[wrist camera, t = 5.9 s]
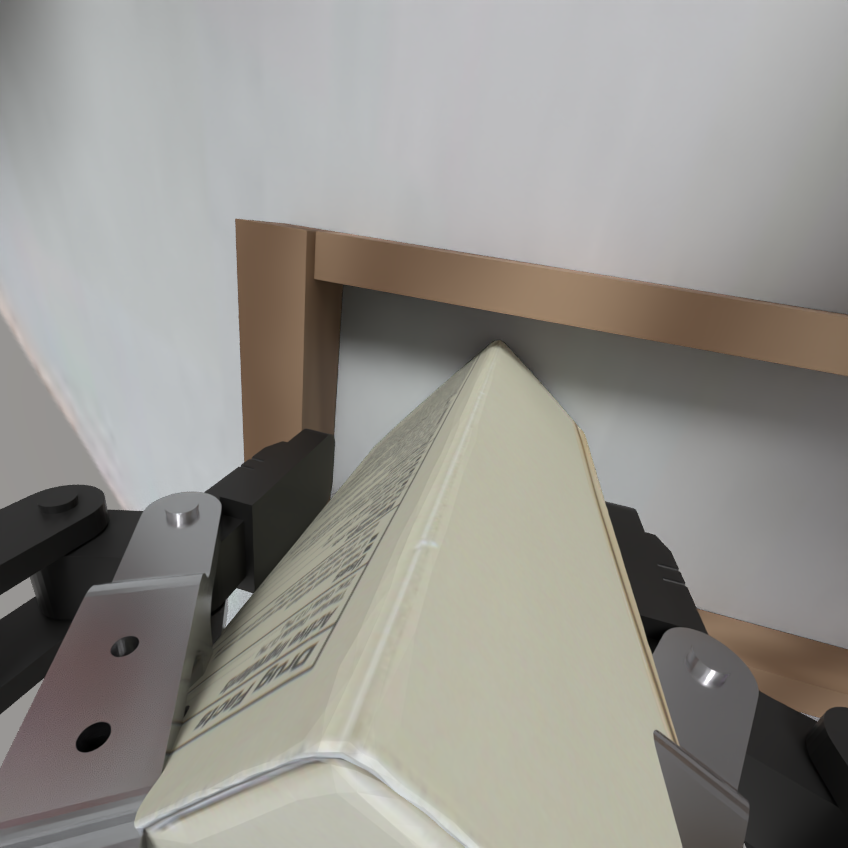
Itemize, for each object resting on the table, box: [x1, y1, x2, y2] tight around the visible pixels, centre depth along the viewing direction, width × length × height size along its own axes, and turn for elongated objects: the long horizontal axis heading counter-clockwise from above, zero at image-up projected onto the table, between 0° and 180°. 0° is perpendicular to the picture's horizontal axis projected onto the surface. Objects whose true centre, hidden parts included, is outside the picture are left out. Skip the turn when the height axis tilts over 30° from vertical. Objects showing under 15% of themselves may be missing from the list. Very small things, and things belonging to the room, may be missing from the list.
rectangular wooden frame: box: [235, 219, 848, 718], centre depth 13 cm, size 24×11×2 cm, turn 82°
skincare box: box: [134, 340, 683, 848], centre depth 9 cm, size 6×4×12 cm
